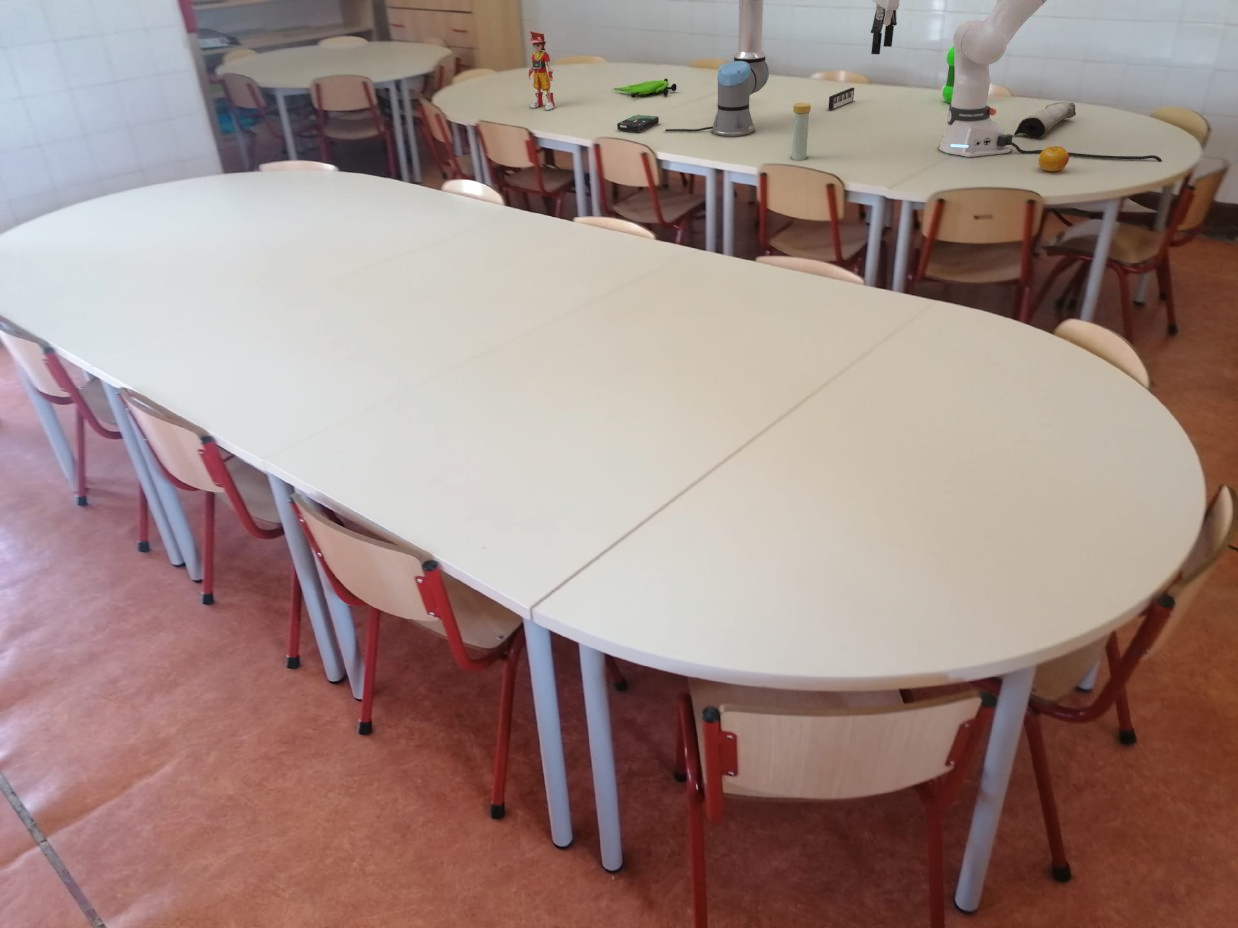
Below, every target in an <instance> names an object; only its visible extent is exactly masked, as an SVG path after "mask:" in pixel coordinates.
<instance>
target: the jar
mask: <svg viewBox="0 0 1238 928" xmlns="http://www.w3.org/2000/svg"><path fill="white" fill-rule="evenodd" d="M793 113H794V114H793V128H792V129H793V130H792V131H793V132H792V146H791V147H792V149H791V159H792V160H794V161H802V160H806V159H807V154H808V153H807V152H808V137H809V120H810V112H808V113H795V112H794V111H793Z"/></svg>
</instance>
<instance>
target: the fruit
mask: <svg viewBox="0 0 1238 928" xmlns="http://www.w3.org/2000/svg"><path fill="white" fill-rule="evenodd" d="M1042 150H1043V151H1042V152H1041V153H1039V156H1038V158H1037V159H1038V162H1037V163H1038V166H1039V167H1040V169H1042V170H1044V171H1046V172H1059V171H1062V170H1063V169H1064V168H1065V167H1066V166H1067V165H1068V163H1069V160H1070V155H1069V154H1068V152H1069V151H1068V150H1067V149H1066V148H1064V147H1062V146H1060V145H1059V146H1058V145H1052V146H1049V147H1045V148H1043V149H1042Z"/></svg>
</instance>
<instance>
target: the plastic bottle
mask: <svg viewBox="0 0 1238 928" xmlns="http://www.w3.org/2000/svg"><path fill="white" fill-rule="evenodd" d="M954 57H955V47H954V45H953V46H952V47H951V48H950V49H949V50H948V52H947V54H946V63H947V64H948V69H947V70H948V71H947V76H946V77H947V78H946V84H945V85H944V87H943V90H942V97H943V99H944V100H945V101H946V102H947V103H948V104H951V102H952V95H953V88H954V79H955V64H954Z"/></svg>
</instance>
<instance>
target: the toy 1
mask: <svg viewBox="0 0 1238 928" xmlns="http://www.w3.org/2000/svg"><path fill="white" fill-rule="evenodd" d="M529 33H530V35H531V36H528V37H527V38H528V39H529V40H528V41H527V43H529V44H530V43H531V44H532V48H533V50H534V51H533V52H532V55H531V58H530V59H531V63H530V66H528V74H527V75H528V76H527V77H528V79H529V80H531V75H532V74H533V84H532V85H533V86H532V87H533V88H534V89H535V90H536V92H534V95H535V97H536V100H535V101H533V102H531V105H530V108H531V109H535V108H538V107H542V106H544V101H543V100H544V99H543V95H544V92H546V94H545V97H546V99H547V103H546V104H545V106H544V110H546V111H549V110H553V109H554V107H555V106H556V105H555V99H554V92H551V91H550V90H551V86H552V84H551V82H552V81H553V80H554V77H553V73H554V71H555V70H554V69H552V68H551V63H550V61H551V59H550V58H551V57H550V54H549V53H548V52H547V50H546V48H545V46H546V44H547V41H545V35H544V33H543V32H542V33H539V32H535V31H529Z"/></svg>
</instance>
